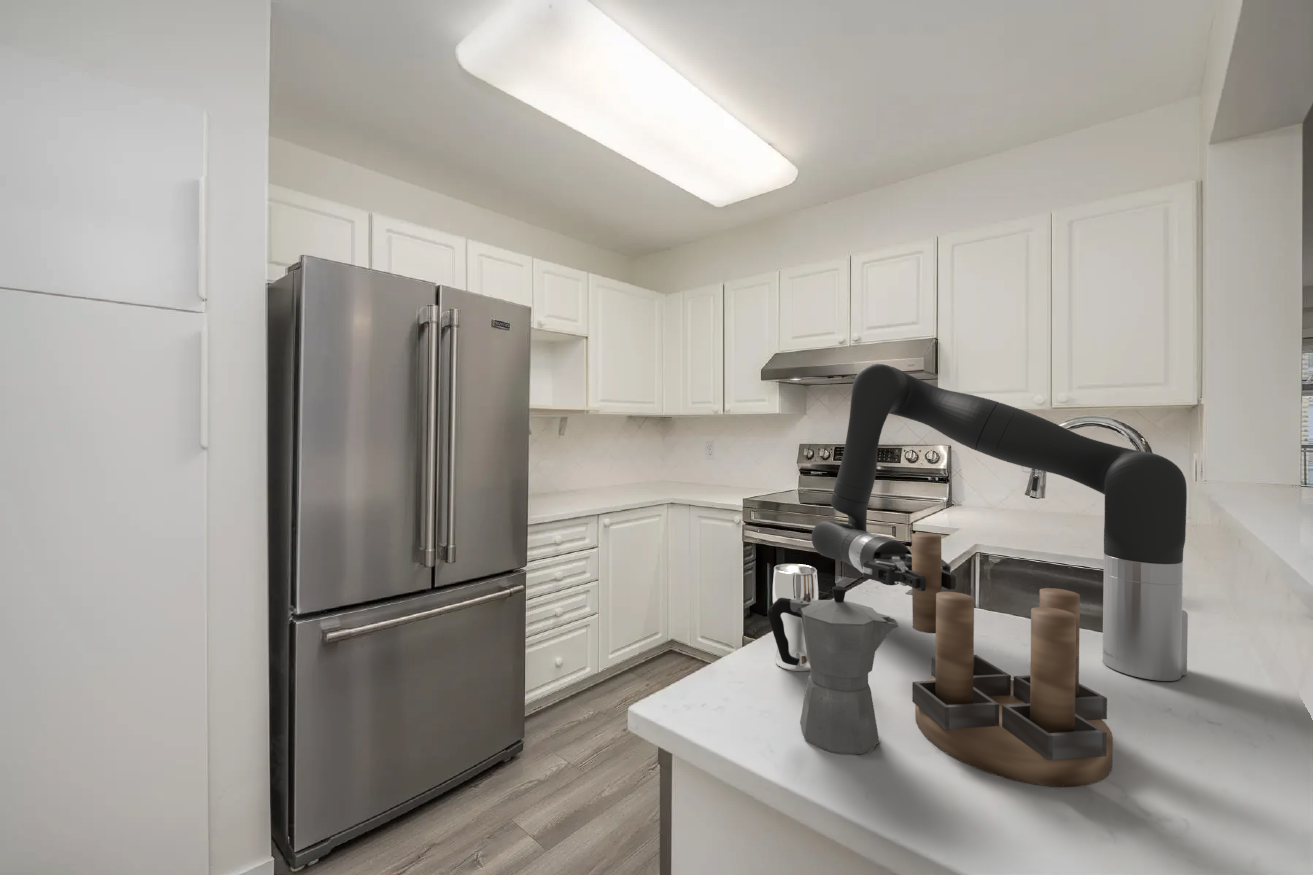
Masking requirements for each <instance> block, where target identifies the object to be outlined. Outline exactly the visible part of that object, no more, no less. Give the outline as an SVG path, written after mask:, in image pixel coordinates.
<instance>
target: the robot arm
mask: <svg viewBox="0 0 1313 875" xmlns="http://www.w3.org/2000/svg"><path fill="white" fill-rule="evenodd" d="M851 388H852V389H851V398H850V409H849V411H850V412H849V418H848V419H849V420H848V425H847V432H846V438H845V443H844V449H843V452H842V453H843V454H842V458H841V462H840V466H839V469H838V473H837V477H836V479H835V484H834V487H833V492H832V494H831V495H832V496H831V498H830V506H831V507H832V509H834V510H835V511H837V512H839V513H842V514H843V515H846V516H847V523H844V522H839V521H838V522H837V521H833V520H822V521H821V522H818V523H817V524H816V525H814V527H813V529H812V532H811V542H812V546H813V548H814V550H815V551H816V553H818V554H820V555H821V556H824V557H826V558H829V559H833V560H836V561H840V562H843V563H846V564H848V565H849V566H851V567H853V568H854V569H857V570H858V571H859V572H860V573H861V574H862V577H863V578H865V579H868V580H872V581H876V582H879V583H881V584H882V585H886V586H897V585H900V586H903V587H906V586H908V587H910V588H911V589H912V588H914V589H916V590H918V591H925V590H926V578H925V576H923V575H921V574H919V573H916V572H914V571H912V551H911V550H910V549H909V548H908V547H907V546H906V545H905V544H904V543H902V542H901V541H897V540H894V539H892V538H889V537H886V536H883V535H881V534H876V533H871V532H869V531H867V520H868V519H867V517H868V513H867V512H868V507H869V504H870V503H869V502H870V499H871V496H872V491H873V489H874V488H873V487H874V484H875V480H876V475H877V466H878V449H879V442H880V438H881V434H882V431H883V427H884V425H885V422H886V420H887V417H888V416H889V415H893V416H897V417H902V418H905V419H909V420H911V421H915V422H918V423H921V424H923V425H925V426H928V427H930V428H933V429H934V430H936V431H937V432H938V433H941V434H942V435H944V436H946V437H947V438H949V439H951V440H952V441H955V442H956V443H958V444H961V445H963V446H965V447H967V448H970V449H971V450H974V451H976V452H978V453H982V454H984V455H987V456H989V457H992V458H995V459H997V460H999V461H1003V462H1007V463H1009V464H1012V465H1016V466H1020V467H1024V468H1028V469H1032V470H1035V471H1036V470H1037V471H1041V472H1046V473H1050V474H1054V475H1058V476H1062V477H1064V478H1067V479H1070V480H1071V481H1075V482H1077V483H1079V484H1081V485H1083V486H1086V487H1088V488H1090V489H1092V490H1094V491H1097V492H1098V493H1100V494H1103V495H1104V522H1103V524H1104V527H1103V585H1102V586H1103V587H1102V588H1103V593H1102V594H1103V599H1102V601H1103V602H1102V605H1103V606H1102V609H1103V610H1102V615H1103V616H1102V662H1103V664H1104V665H1105V666H1107V667H1109V668H1110V669H1112V670H1114V671H1117V672H1120V673H1123V674H1126V675H1128V676H1132V677H1137V678H1141V679H1146V680H1151V681H1158V682H1159V681H1161V682H1172V681H1178V680H1180V679H1181V678H1182V676H1187V675H1188V634H1189V633H1188V632H1189V631H1188V627H1189V626H1188V625H1189V624H1188V623H1189V622H1188V621H1189V616H1188V612H1187V611H1186V610H1184V609H1183V578H1184V577H1183V566H1184V562H1183V561H1184V549H1185V543H1186V535H1187V533H1186V531H1187V530H1186V528H1187V526H1186V525H1187V503H1188V501H1187V500H1188V497H1187V492H1188V490H1187V488H1188V487H1187V481H1186V477H1185V475H1184V472H1183V471H1182V470H1181V469H1180V467H1179V466H1178V465H1177V464H1175V463H1174V462H1173V461H1172V460H1170V459H1168V458H1167V457H1164V456H1161V455H1159V454H1156V453H1153V452H1147V451H1141V450H1136V449H1131V448H1128V447H1123V446H1119V445H1115V444H1111V443H1108V442H1103V441H1099V440H1097V439H1093V438H1090V437H1087V436H1083V435H1081V434H1078V433H1076V432H1074V431H1071V430H1069V429H1068V428H1065V427H1063V426H1061V425H1059V424H1057V423H1055V422H1052V421H1050V420H1049V419H1045V418H1043V417H1041V416H1039V415H1036V414H1034V413H1031V412H1029V411H1026V410H1024V409H1021V408H1017V407H1015V406H1012V405H1009V404H1006V403H1004V402H999V401H996V400H993V399H990V398H985V397H981V396H977V395H973V394H969V393H965V392H964V393H963V392H960V391H959V392H958V391H953V390H947V389H945V388H941V387H938V386H935V385H933V384H931V383H928V382H925V381H924V380H921V379H919V378H917V377H914V376H912V375H910V374H908V373H906V372H904V371H902V370H900V369H898V368H896V367H894V366H890V365H887V364H883V363H873V364H870V365H869V364H868V365H867V366H864V367H863V368H862V369H861V370H860V371H859V372H858V373H857V374H856V376H855V378H854V380H853V384H852V387H851ZM951 569H952V568H951V565H950V564H948V562H946V561H945V560H944V559H942V588H944V589H946V590H955V589H956V587H957V576H956V575H954V574H953V573H952V572H951Z"/></svg>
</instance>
